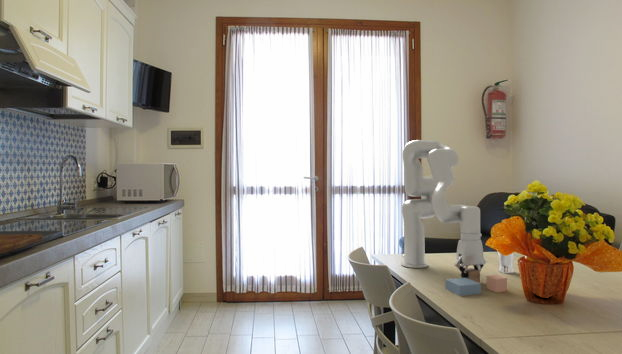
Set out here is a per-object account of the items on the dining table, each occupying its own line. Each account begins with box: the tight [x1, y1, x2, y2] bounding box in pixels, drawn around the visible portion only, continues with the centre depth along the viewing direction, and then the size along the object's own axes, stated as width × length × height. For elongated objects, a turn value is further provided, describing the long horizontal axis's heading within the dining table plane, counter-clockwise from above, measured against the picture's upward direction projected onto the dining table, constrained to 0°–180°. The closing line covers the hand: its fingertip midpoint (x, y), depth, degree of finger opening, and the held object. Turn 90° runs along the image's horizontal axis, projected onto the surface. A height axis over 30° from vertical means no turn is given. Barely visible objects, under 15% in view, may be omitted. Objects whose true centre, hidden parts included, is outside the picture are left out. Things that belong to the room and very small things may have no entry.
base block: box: [444, 277, 482, 297], centre depth 151 cm, size 9×9×4 cm
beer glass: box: [497, 251, 515, 274], centre depth 179 cm, size 7×7×15 cm
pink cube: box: [486, 274, 508, 293], centre depth 152 cm, size 5×5×5 cm
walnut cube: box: [467, 267, 481, 284], centre depth 163 cm, size 5×5×5 cm
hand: (470, 280), depth 163 cm, fingers closed on walnut cube, 4 cm apart
